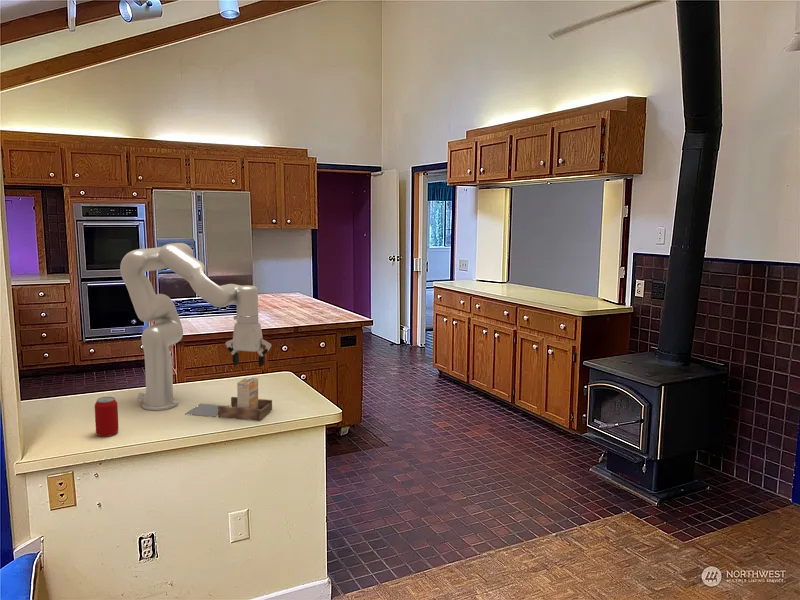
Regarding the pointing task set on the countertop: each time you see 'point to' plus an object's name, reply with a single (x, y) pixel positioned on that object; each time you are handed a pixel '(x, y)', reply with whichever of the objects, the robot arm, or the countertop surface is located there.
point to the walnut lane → (245, 410)
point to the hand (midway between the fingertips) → (248, 365)
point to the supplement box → (247, 393)
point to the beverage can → (106, 416)
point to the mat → (205, 410)
